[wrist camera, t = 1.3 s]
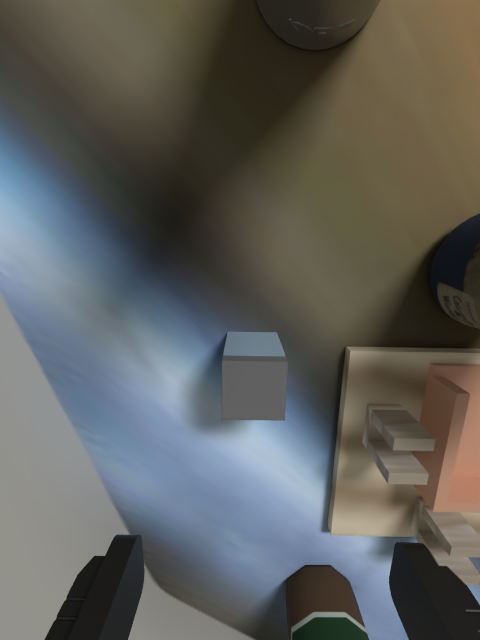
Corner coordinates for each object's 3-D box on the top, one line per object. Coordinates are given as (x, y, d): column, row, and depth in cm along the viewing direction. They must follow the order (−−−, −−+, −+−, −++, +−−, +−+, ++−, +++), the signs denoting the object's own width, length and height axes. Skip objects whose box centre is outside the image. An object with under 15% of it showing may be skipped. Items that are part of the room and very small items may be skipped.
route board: (345, 346, 26) (375, 375, 20) (603, 350, 26) (711, 381, 20) (327, 524, 31) (347, 590, 25) (545, 529, 31) (618, 597, 25)
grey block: (227, 331, 26) (221, 360, 20) (276, 332, 26) (287, 361, 19) (227, 376, 27) (222, 419, 21) (274, 377, 27) (284, 420, 21)
